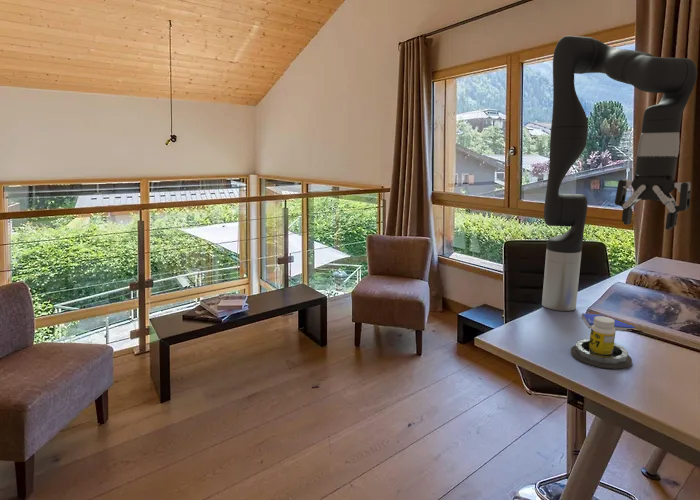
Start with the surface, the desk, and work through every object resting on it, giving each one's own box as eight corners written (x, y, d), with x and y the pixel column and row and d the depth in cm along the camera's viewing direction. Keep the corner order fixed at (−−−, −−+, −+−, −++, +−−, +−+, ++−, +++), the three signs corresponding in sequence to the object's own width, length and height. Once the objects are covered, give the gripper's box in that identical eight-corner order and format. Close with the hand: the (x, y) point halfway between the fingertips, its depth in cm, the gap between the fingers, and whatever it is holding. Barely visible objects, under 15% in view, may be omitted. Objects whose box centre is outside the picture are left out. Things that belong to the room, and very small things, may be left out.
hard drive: (589, 323, 117) (642, 327, 114) (581, 312, 125) (631, 316, 122) (588, 329, 118) (641, 333, 115) (581, 317, 126) (630, 321, 122)
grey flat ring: (563, 344, 107) (564, 336, 107) (617, 347, 106) (618, 338, 105) (581, 368, 96) (582, 359, 95) (642, 371, 94) (643, 362, 94)
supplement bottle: (583, 350, 103) (587, 315, 101) (603, 349, 103) (607, 314, 101) (596, 359, 98) (600, 323, 96) (617, 358, 99) (621, 322, 97)
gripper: (615, 154, 103) (607, 224, 106) (689, 154, 91) (677, 232, 95) (629, 154, 107) (621, 221, 111) (702, 154, 96) (690, 228, 99)
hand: (647, 226), depth 103 cm, fingers open, 8 cm apart
